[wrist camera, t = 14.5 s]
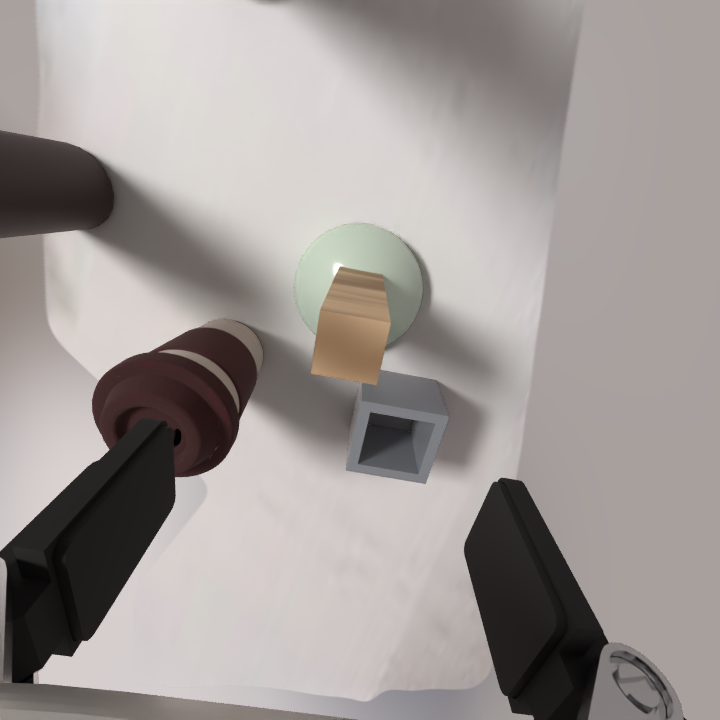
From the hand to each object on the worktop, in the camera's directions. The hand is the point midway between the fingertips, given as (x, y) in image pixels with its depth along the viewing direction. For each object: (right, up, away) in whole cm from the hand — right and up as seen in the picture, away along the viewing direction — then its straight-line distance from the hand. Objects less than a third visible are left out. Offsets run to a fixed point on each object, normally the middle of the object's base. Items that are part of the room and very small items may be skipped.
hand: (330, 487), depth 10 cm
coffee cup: (-13, +5, +27) cm, 30 cm away
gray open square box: (+4, -1, +29) cm, 30 cm away
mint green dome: (+1, +11, +24) cm, 26 cm away
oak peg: (+1, +10, +23) cm, 25 cm away
